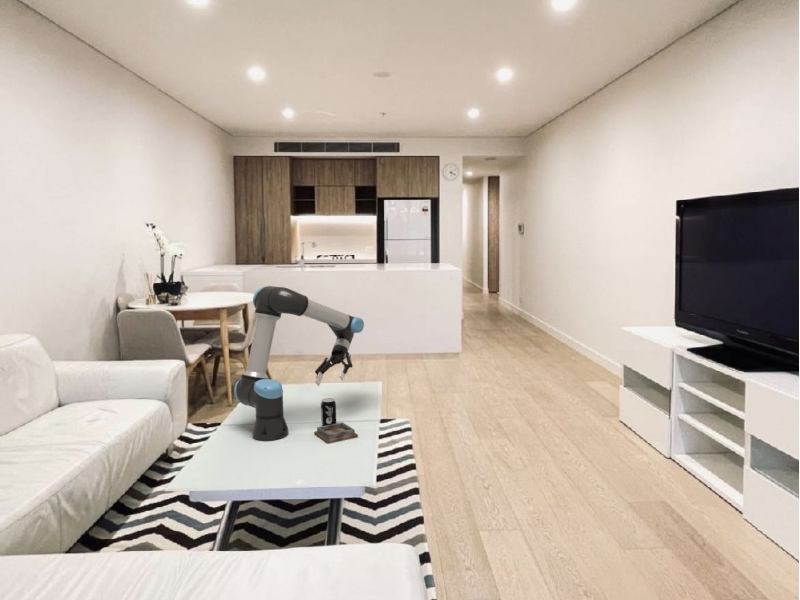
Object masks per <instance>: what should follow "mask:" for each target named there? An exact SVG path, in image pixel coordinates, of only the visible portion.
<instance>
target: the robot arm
mask: <svg viewBox="0 0 800 600" xmlns="http://www.w3.org/2000/svg"><path fill="white" fill-rule="evenodd" d="M252 303H253V305H254V308H255V309H254V310H255V311H254V315H255V316H256V322H255V328H254V332H253V338H252V342H251V347H250V351H249V355H248V356H249V357H248V362H247V365H246V370H245V371H243V372H242V373H241V377H240V379H239V380H238V381H236V382H235V384H234V389H233V393H234V397H235V398H236V400H237V401H238V402H239V403H241V404H243V405H244V406H248V407H252V408H254V409H255V422H254V425H253V428H252V439H254V440H257V441H262V442H263V441H265V442H266V441H268V442H269V441H276V440H281V439H283V438H285V437H287V436H289V427H288V426H289V425H288V423H287V422H286V419H285V417H284V414H285V413H284V394H283V393H284V389H283V384H282V383H281V382H280V381H278V380H277V379H270V378H269V376H268V375H267V369H268V365H269V360H270V353H271V349H272V346H273V345H272V344H273V339H274V335H275V330H276V327H277V326H276V325H277V321H280V319H281V318H282V314H285V315H294V316H296V317H302V316H304V317H306V318H310V319H312V320H315V321H317V322H321V323H323V324H327V326H328V327H329V329H330V330H331V331H332V332H333V334H334V335H335V337H336V339H335V342H334V344H333V348H332V351H331V356H330V357H329V358H328V357H325V358H324V360H323V361H322V362H321V364H319V366H318V367H317V368H316V370H315V371H314V373H315V374H316V376H315V378H316V379H315V381H314V383H315V384H316V385H317V386H318V387H319V386H321V383H322V379H323V377H324V374H326V372H327V371H328V370H329V369H330V368H332V367H334V366H336V365H339V364H342V365H343V366H342V368H341V370H340V373H339V376H338V377H339V378H340V380H341V381H344V379H345V377H346V374H347V373H348V370H349V369H350V368H353V367H354V366H353V363H352V360H351V353H349V349H350V346H351V344H352V342H353V339H354V336H355V334H358V333H361V332H362V331H363V330H364V328H365V322H364V320H363V319H362V318H361V317H358V316H353V315H351V314H347V313H345V312H341V311H340V310H337V309H334V308H331V307H329V306H327V305H325V304H322V303H319V302H316V301H313V300H311V299H309V297H308V296H306V295H304V294H302V293H299V292H298V291H295V290H292V289H291V288H289V287H288V288H287V287H284V286H273V285H269V286H268V285H266V286H262V287H260V288H258V289H257V290H256V291H255V293H254V294H253V298H252ZM345 360H346V361H345ZM346 362H347V363H346Z"/></svg>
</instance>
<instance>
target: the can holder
mask: <svg viewBox="0 0 800 600" xmlns="http://www.w3.org/2000/svg"><path fill="white" fill-rule="evenodd" d="M355 431H356V430H355V429H354V428H352V427H351V426H349V425H348V424H346V423H344V422H338V423H337V422H336V424H332V425H327V426H322V425H321V426H317V427H316V431H313V433H314V436H316V437H317V438H319V439H320V440H322V442H324V443H325V444H328V445H329V444H332V443H333V444H334V443H337V442H343V441H346V440H347V441H348V440H351V439H352V440H353V439H357V438H359V435H358V434H357V433H356V432H355Z"/></svg>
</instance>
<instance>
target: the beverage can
mask: <svg viewBox="0 0 800 600" xmlns="http://www.w3.org/2000/svg"><path fill="white" fill-rule="evenodd" d="M335 400H336V399H335V398H330V397H328V398H323V399H321V403H320V415H321V427H322V426H327V425H332V424H337V403H336V401H335Z"/></svg>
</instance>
